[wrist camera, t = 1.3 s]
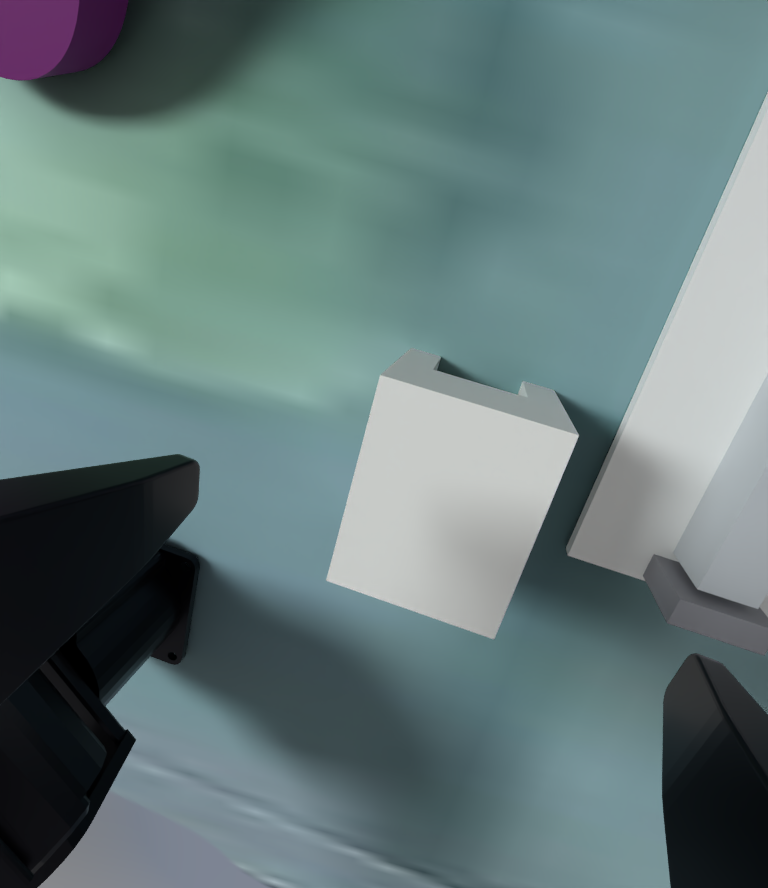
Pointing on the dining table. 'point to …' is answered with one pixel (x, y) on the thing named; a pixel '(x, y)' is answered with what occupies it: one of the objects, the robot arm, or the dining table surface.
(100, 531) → the robot arm
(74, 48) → the mounting bracket
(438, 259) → the dining table surface
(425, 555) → the grey slotted block
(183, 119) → the dining table surface
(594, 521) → the light grey long base
